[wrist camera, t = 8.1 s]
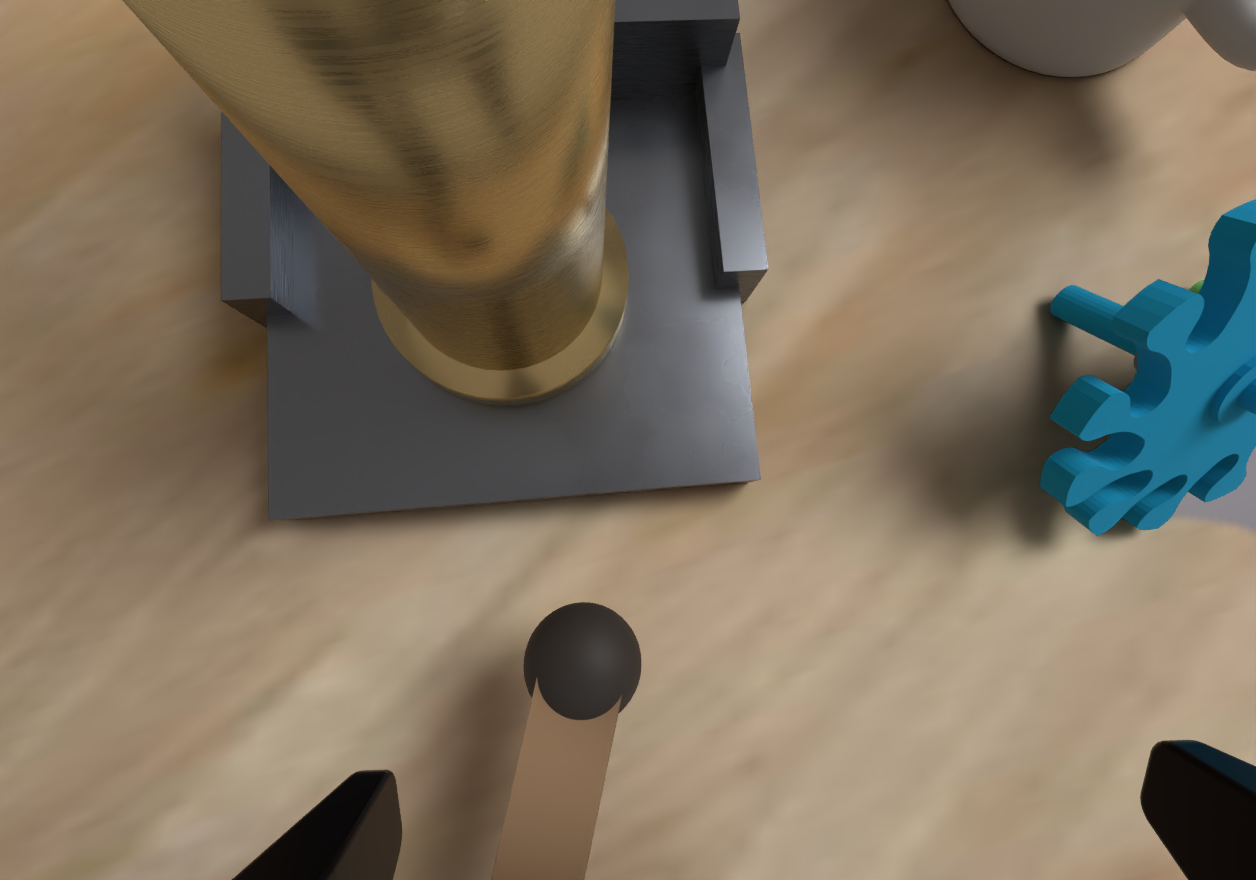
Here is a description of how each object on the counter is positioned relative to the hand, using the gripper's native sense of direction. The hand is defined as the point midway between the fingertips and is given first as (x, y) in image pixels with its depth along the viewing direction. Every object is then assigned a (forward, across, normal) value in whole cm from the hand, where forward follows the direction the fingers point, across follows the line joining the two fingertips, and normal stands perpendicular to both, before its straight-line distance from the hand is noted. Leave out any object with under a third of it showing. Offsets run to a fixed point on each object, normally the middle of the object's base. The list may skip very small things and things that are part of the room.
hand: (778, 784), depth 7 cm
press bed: (+14, +5, -7) cm, 16 cm away
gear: (+12, -14, -2) cm, 19 cm away
